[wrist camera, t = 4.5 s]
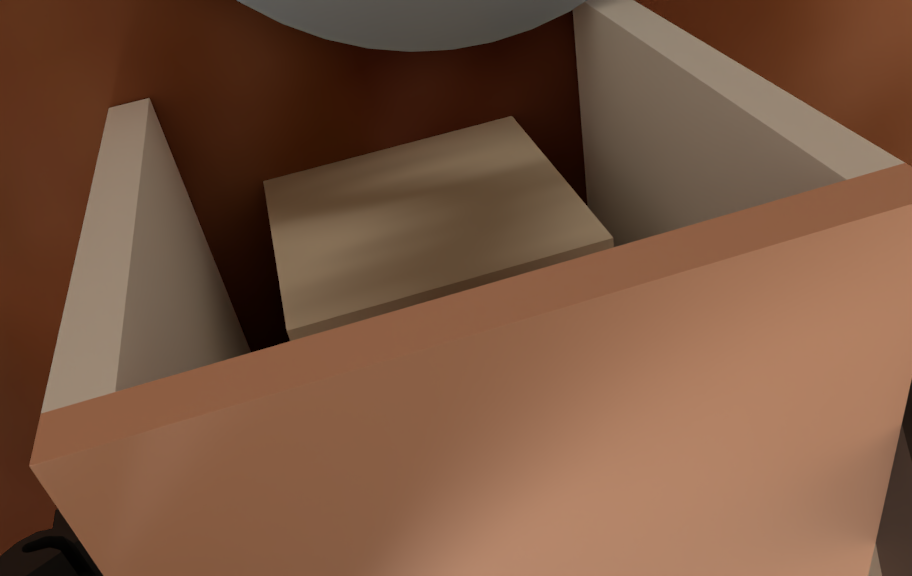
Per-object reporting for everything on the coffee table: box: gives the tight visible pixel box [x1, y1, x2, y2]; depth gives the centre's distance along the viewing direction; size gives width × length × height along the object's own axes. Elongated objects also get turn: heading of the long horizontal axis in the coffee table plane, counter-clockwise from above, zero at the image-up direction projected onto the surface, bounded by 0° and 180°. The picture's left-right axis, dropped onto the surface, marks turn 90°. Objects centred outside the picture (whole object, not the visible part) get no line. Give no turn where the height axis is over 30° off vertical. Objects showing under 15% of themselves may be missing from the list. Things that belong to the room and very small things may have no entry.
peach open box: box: [29, 0, 912, 576], centre depth 14 cm, size 9×9×9 cm
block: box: [263, 116, 614, 341], centre depth 16 cm, size 5×5×5 cm
